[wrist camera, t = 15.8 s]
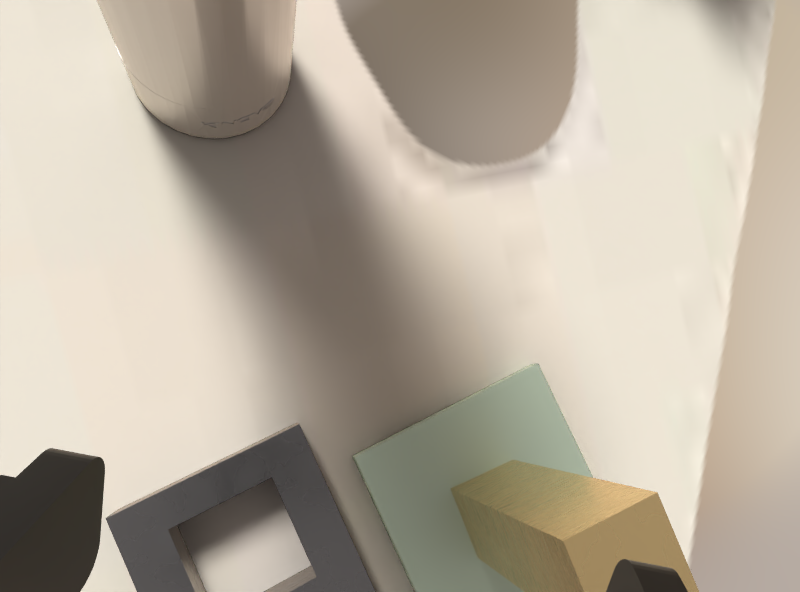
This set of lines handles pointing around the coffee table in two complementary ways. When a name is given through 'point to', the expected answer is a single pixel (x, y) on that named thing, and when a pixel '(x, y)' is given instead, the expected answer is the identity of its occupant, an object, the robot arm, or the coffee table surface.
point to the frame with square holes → (268, 458)
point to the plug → (564, 528)
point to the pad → (462, 475)
